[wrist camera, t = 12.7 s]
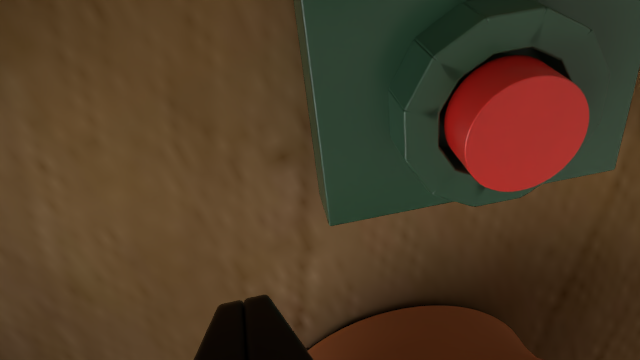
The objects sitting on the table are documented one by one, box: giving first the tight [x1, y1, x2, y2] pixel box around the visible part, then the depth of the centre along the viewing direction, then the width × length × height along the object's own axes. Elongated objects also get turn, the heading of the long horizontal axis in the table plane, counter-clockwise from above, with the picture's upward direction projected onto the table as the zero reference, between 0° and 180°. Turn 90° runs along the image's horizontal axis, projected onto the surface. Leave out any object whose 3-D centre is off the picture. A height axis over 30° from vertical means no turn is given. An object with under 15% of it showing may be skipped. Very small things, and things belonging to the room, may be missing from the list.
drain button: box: [444, 55, 589, 192], centre depth 17 cm, size 4×4×2 cm
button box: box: [294, 0, 640, 226], centre depth 19 cm, size 12×9×4 cm
